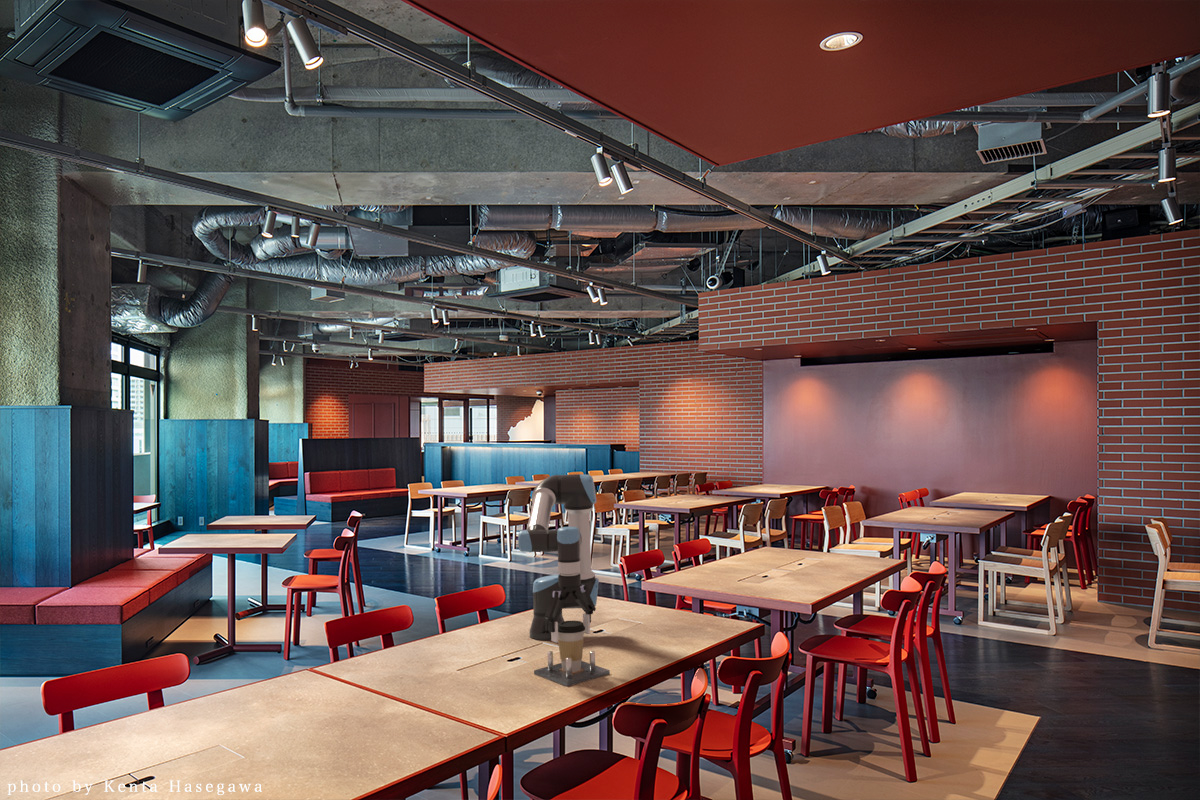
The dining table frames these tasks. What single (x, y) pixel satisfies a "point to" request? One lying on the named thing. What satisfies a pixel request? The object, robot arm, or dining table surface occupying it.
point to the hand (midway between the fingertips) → (570, 637)
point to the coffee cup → (571, 643)
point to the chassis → (570, 677)
